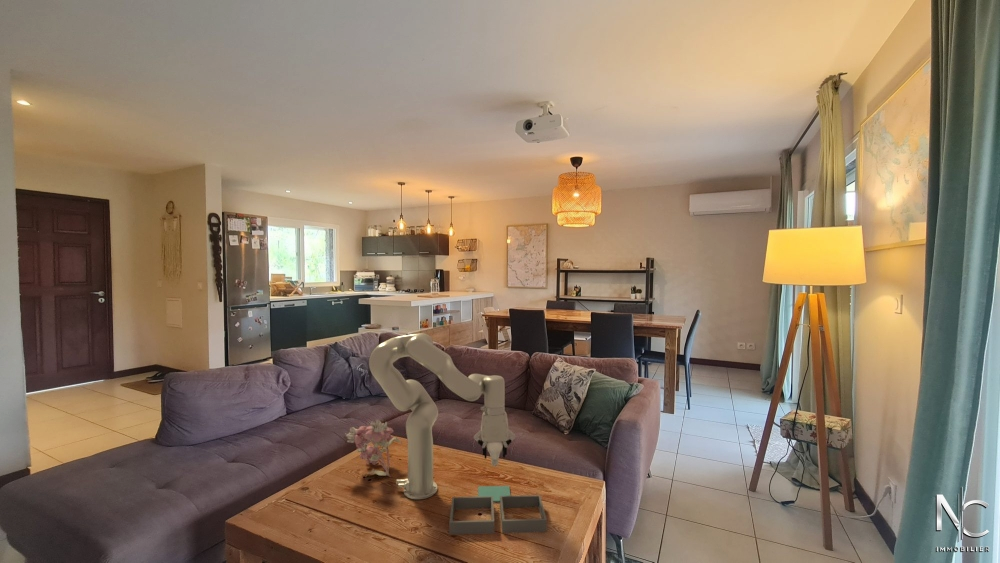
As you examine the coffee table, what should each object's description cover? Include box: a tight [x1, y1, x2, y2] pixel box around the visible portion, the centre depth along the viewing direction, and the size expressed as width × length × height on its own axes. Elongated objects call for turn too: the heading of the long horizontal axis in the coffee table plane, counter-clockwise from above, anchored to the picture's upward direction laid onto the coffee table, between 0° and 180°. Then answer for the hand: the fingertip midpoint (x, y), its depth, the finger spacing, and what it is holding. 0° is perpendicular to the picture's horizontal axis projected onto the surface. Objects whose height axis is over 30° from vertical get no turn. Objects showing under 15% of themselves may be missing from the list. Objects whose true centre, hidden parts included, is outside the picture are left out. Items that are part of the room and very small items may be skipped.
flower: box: [344, 419, 403, 477], centre depth 173 cm, size 20×22×25 cm
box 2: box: [499, 494, 548, 534], centre depth 141 cm, size 14×14×4 cm
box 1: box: [448, 496, 495, 536], centre depth 140 cm, size 14×14×4 cm
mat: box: [477, 485, 511, 504], centre depth 155 cm, size 12×10×1 cm
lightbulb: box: [486, 442, 503, 467], centre depth 154 cm, size 6×6×11 cm
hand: (494, 456), depth 155 cm, fingers closed on lightbulb, 6 cm apart
